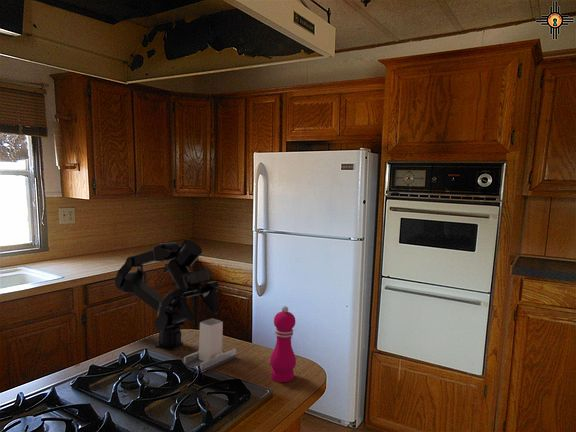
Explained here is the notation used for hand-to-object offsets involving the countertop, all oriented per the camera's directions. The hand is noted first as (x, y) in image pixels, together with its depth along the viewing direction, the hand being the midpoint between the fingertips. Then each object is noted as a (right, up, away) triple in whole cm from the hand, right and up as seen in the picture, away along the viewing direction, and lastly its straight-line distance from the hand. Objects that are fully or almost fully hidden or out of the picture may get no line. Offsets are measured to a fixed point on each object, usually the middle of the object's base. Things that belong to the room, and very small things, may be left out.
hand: (205, 316), depth 118 cm
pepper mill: (+23, -15, -10) cm, 29 cm away
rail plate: (+2, -13, -1) cm, 13 cm away
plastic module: (+2, -12, -1) cm, 12 cm away
